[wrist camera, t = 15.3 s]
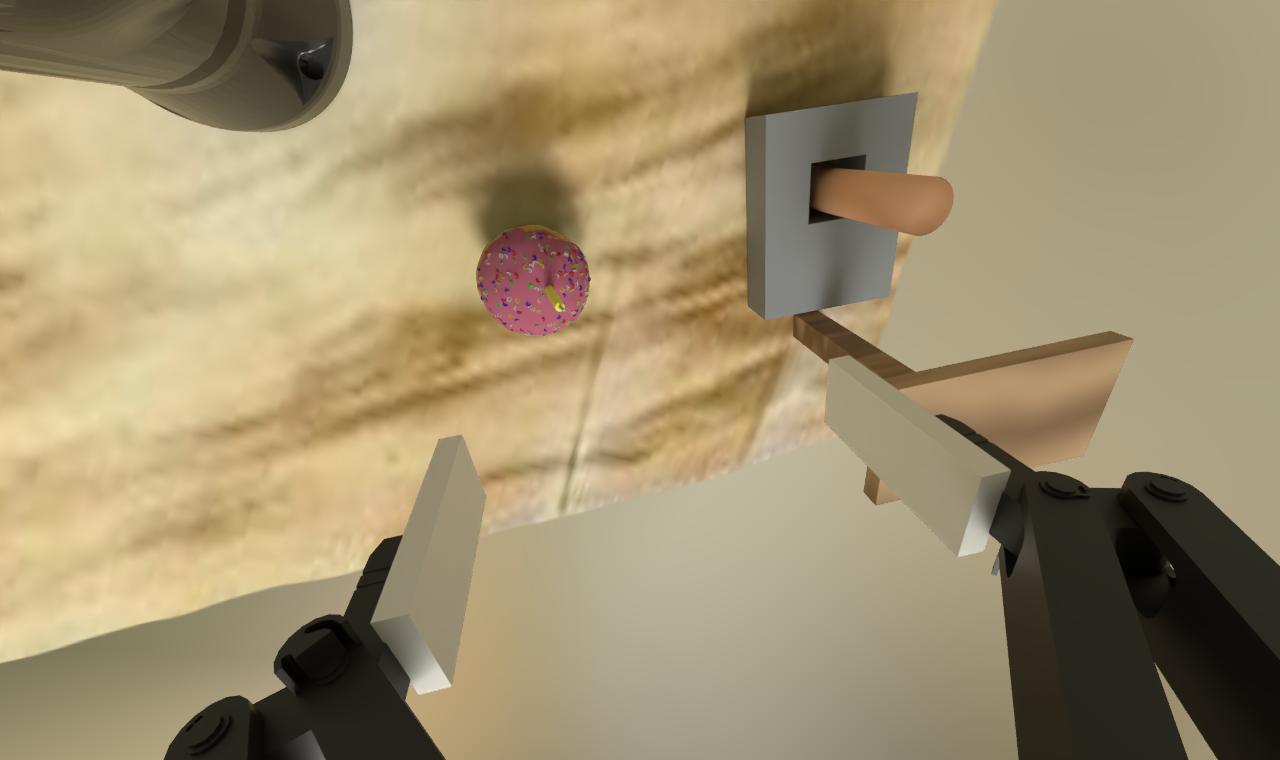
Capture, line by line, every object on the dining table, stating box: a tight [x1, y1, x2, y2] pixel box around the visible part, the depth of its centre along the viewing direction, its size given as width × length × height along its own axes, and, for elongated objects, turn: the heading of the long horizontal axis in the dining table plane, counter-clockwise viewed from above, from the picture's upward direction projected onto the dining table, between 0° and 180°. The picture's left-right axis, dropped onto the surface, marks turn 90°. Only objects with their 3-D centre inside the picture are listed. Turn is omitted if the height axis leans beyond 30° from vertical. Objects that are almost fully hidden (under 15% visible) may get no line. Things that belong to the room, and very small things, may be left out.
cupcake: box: [476, 225, 591, 337], centre depth 34 cm, size 9×8×12 cm
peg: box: [809, 166, 953, 236], centre depth 34 cm, size 3×3×14 cm
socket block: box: [745, 92, 918, 320], centre depth 39 cm, size 16×12×4 cm
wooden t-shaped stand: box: [793, 310, 1134, 505], centre depth 35 cm, size 8×14×22 cm, turn 97°
